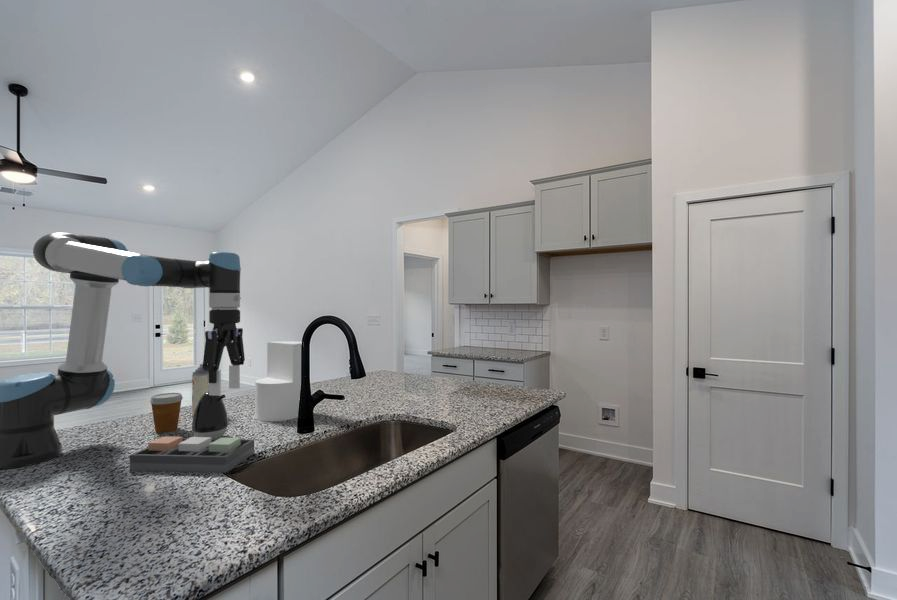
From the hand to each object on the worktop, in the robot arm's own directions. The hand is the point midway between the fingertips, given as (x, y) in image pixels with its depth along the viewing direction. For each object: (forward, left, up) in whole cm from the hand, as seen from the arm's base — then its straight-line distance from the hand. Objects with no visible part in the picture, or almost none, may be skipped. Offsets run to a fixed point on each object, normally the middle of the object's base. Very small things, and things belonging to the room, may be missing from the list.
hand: (225, 391), depth 116 cm
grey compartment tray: (-9, 0, -19) cm, 21 cm away
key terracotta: (-17, 0, -16) cm, 23 cm away
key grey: (-9, 0, -16) cm, 18 cm away
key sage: (0, 0, -16) cm, 16 cm away
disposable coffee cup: (-38, +27, -20) cm, 50 cm away
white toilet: (-8, +48, -20) cm, 52 cm away
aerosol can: (-38, +46, -20) cm, 62 cm away
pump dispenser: (-17, +19, -20) cm, 32 cm away
